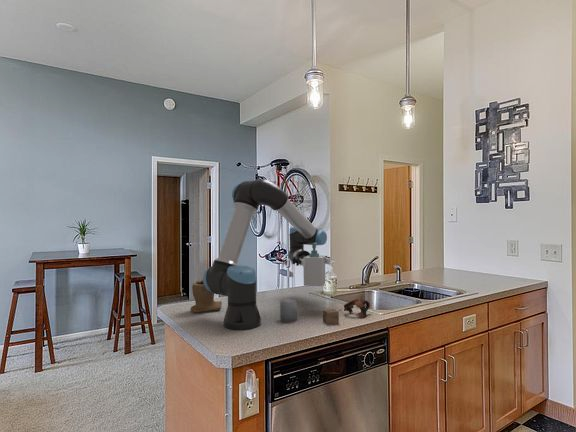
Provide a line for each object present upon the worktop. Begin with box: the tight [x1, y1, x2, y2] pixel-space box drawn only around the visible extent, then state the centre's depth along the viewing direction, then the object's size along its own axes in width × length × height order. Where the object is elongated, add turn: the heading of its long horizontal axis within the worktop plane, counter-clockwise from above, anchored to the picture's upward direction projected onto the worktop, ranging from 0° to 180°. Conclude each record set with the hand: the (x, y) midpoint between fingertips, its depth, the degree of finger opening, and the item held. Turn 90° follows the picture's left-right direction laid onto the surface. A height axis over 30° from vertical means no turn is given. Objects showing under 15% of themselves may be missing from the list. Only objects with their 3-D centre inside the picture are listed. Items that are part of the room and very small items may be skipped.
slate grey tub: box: [279, 298, 298, 323], centre depth 152 cm, size 7×7×8 cm
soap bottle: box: [302, 243, 326, 287], centre depth 166 cm, size 9×9×19 cm
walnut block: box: [322, 308, 340, 326], centre depth 147 cm, size 5×5×5 cm
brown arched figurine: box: [343, 298, 371, 319], centre depth 158 cm, size 12×10×8 cm
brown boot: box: [190, 279, 223, 313], centre depth 169 cm, size 15×12×15 cm
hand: (317, 262), depth 162 cm, fingers closed on soap bottle, 12 cm apart
